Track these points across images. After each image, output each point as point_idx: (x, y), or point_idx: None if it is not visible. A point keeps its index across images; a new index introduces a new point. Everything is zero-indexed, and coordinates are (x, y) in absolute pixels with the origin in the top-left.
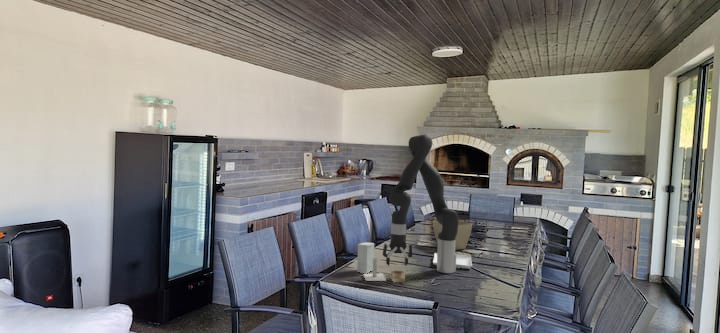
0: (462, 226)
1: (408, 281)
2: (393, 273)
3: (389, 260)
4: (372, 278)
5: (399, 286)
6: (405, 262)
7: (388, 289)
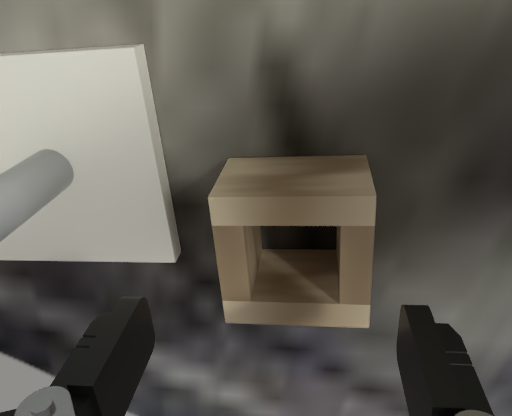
0: None
1: (407, 248)
2: (233, 302)
3: (125, 407)
4: (42, 226)
5: (287, 355)
6: (407, 399)
7: (195, 397)
